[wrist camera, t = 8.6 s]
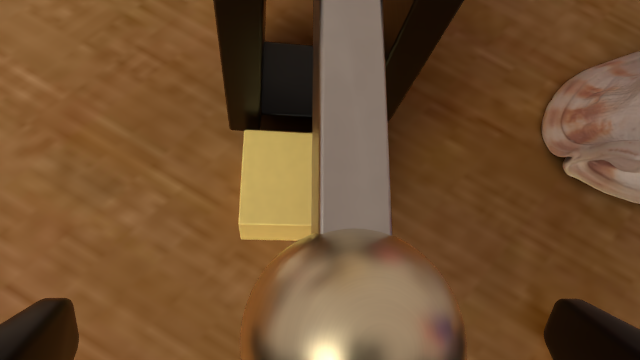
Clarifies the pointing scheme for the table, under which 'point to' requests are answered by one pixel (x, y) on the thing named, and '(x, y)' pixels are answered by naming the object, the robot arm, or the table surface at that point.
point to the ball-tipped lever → (351, 226)
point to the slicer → (297, 61)
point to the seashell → (599, 127)
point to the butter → (276, 185)
